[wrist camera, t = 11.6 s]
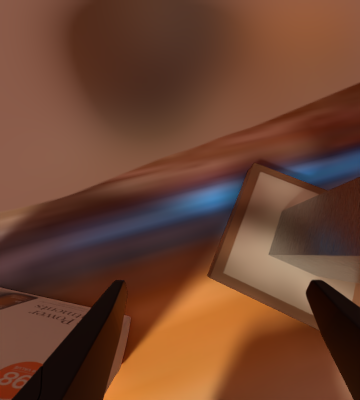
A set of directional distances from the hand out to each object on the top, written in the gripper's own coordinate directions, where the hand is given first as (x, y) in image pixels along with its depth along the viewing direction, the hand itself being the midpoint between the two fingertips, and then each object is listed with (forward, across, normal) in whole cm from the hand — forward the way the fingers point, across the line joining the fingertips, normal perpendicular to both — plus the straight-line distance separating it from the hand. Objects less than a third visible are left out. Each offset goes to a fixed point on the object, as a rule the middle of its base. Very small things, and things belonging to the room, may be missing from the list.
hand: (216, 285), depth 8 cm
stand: (+11, -10, +8) cm, 17 cm away
